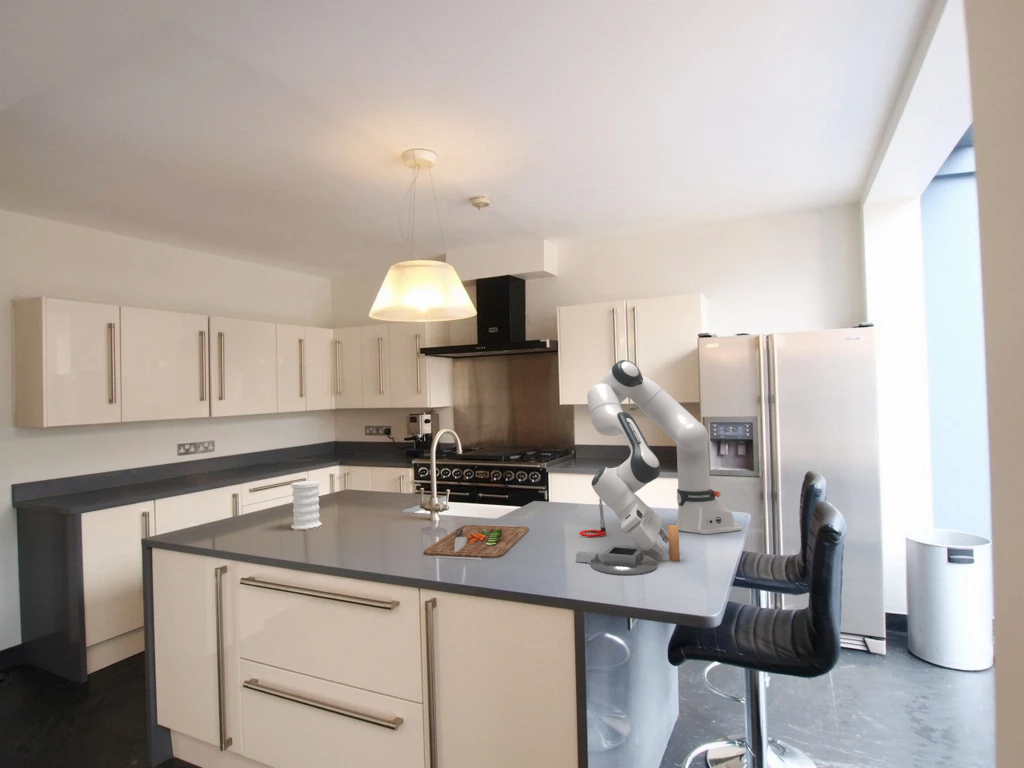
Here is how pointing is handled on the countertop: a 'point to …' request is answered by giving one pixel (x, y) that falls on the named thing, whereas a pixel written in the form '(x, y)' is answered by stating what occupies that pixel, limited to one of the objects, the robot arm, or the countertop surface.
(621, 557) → the grey peg holder base
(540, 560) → the countertop surface
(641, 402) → the robot arm
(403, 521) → the countertop surface
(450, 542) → the chopping board
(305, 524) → the decorative container
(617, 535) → the countertop surface
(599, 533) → the tow hook
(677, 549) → the orange wooden block
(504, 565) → the countertop surface
